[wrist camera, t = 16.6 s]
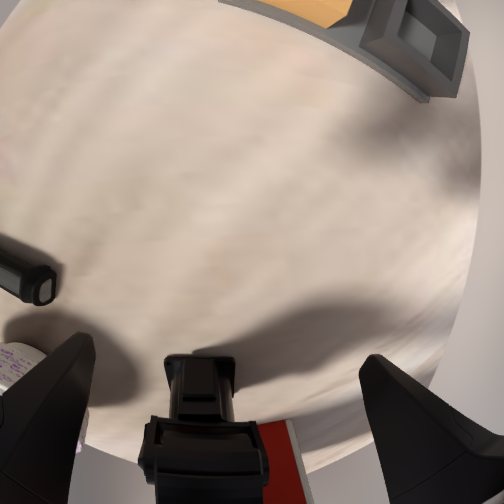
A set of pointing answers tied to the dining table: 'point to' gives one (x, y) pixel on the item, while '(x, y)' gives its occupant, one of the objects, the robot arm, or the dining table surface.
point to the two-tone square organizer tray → (384, 37)
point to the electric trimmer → (27, 280)
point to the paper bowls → (18, 364)
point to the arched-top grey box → (284, 465)
